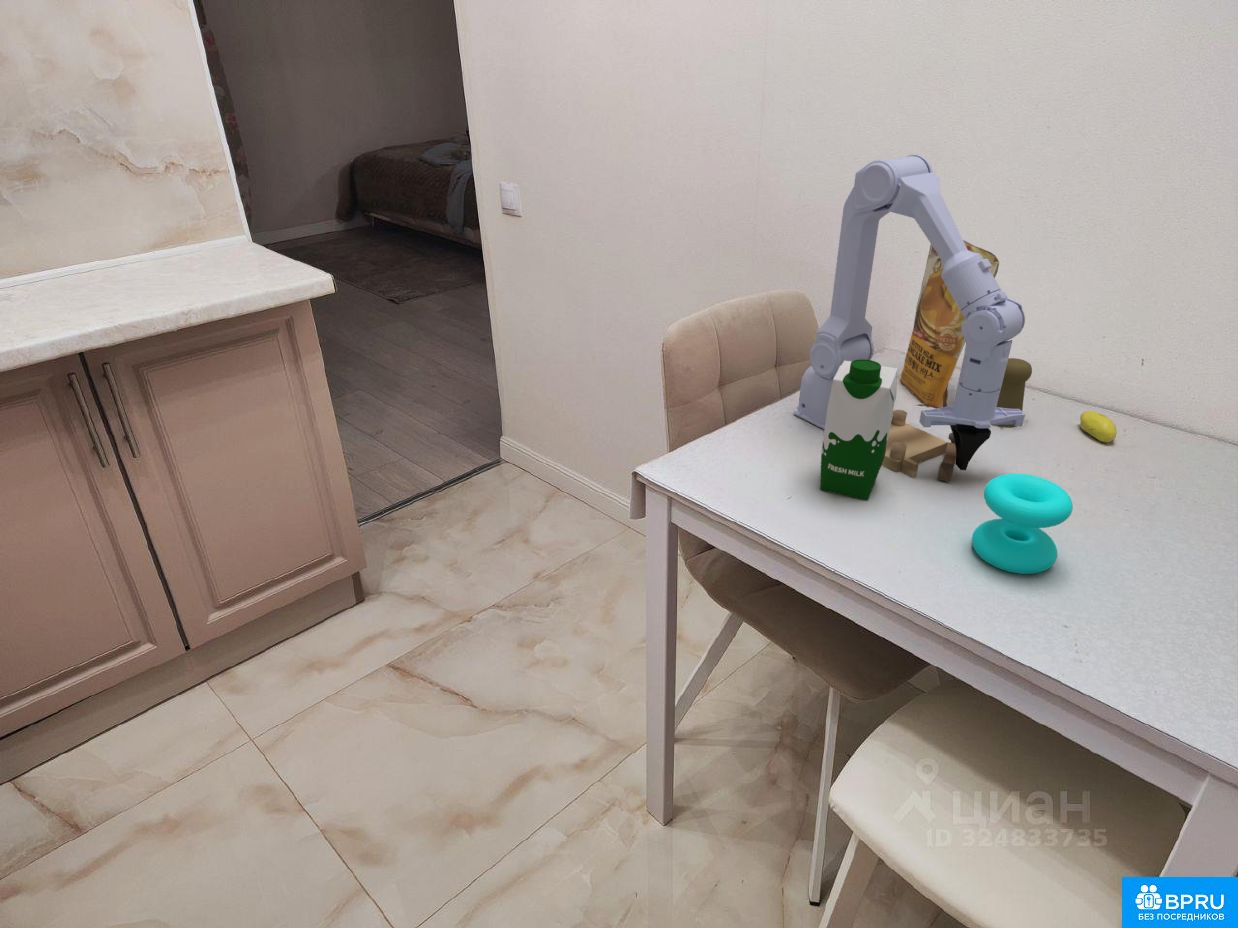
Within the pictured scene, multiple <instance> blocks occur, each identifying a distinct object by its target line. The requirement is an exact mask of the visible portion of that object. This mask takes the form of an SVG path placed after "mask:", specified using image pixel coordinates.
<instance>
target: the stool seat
mask: <svg viewBox="0 0 1238 928" xmlns="http://www.w3.org/2000/svg"><path fill="white" fill-rule="evenodd" d="M907 415H908V412H907V410H906V411H905V410H902V409H893V415H892V421H891V426H890V432H889V437H888V442H887V448H886V453H885V457H884V460H883V463H882V465H881V466H883V467H884V468H887V469H889V470H891V471H892V472H894V473H898V472H901V473H903V472H904V473H903V474H905V475H906V474H907V476H908V475H909V476H908V477H910V476H911V477H910V478H914V477H916V476H917V473H918V468H919V464H921V463H923V462H925V461H927V460H931V459H932V458H935V457H937V455H938V456H941V455H942V454H945V452H946V449H947V445H948V442H949V441H950V443H955V441H954V437H953V433H952V432H950V433H949V434H948V440H949V441H947V440H944V439H942V438H940V437H938V436H935V435H933V434H932V433H929V432H927V431H925V430H923V429H920V428H918V427H915V426H913V425H911V424H909V423H907V422H906V420H907Z"/></svg>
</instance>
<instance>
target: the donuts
mask: <svg viewBox="0 0 1238 928" xmlns="http://www.w3.org/2000/svg"><path fill="white" fill-rule="evenodd" d="M983 497H984V501H985V503H986V504H987V507H988V508H989V509H990V510H991V512H993V513H994V514H995V515H996V516H997V517H999V518H993V519H989V520H986V521H984V522H981V524H979V525H978V526H977V527H976V528H975V529H974V531H973V532H972V536H971V542H972V543H971V544H972V547H973V549H974V551H975V552H976V553H977V555H978V556H979V557H980V558H981V559H982V560H983V561H985V562H986V563H987V564H990V565H991V566H993V567H995V568H997V569H999V570H1003V571H1005V572H1009V573H1013V574H1014V573H1015V574H1021V575H1030V574H1031V575H1032V574H1038V573H1042V572H1045V571H1047V570H1049V569H1050V568H1051V567H1052V566H1054V564H1055V562H1056V561H1057V558H1058V549H1057V545H1056V544H1055V542H1054V540H1053V538H1052V537H1050V536H1049V534H1047V533H1046V532H1045V531H1044V530H1043V529H1045V528H1050V527H1052V528H1053V527H1055V526H1058V525H1060V524H1062V523H1064V522H1065V521H1067V520H1068V519H1069V518H1070V516H1071V515H1072V512H1073V501H1072V498H1071V497H1070V495H1069V493H1067V491H1066V490H1065V489H1063V488H1062V487H1061V486H1059V485H1058V484H1057V483H1055V482H1053V481H1050V480H1048V479H1045V478H1042V477H1040V476H1036V475H1032V474H1027V473H1026V474H1025V473H1006V474H1001V475H999V476H995V477H994V478H992V479H990V480H989V481H988V482H987V483H986V485H985V487H984V490H983Z"/></svg>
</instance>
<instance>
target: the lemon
mask: <svg viewBox="0 0 1238 928" xmlns="http://www.w3.org/2000/svg"><path fill="white" fill-rule="evenodd" d="M1079 420H1080V428H1081V429H1082V430H1083V431H1084V432H1086V433H1088V435H1090V436H1091V437H1093V438H1095V439H1097V440H1098V441H1099V442H1101V443H1110V442H1112V441H1113V440H1115V438H1116V437H1117V435H1118V434H1117V432H1118V431H1117V427H1116V424H1115V422H1113V420H1112V419H1110V418H1109V417H1108V416H1106V415H1105V414H1102V413H1100V412H1097V411H1095V410H1094V411H1093V410H1086V411H1083V412H1082V413H1081V414H1080V417H1079Z"/></svg>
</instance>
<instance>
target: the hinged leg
mask: <svg viewBox="0 0 1238 928" xmlns="http://www.w3.org/2000/svg"><path fill="white" fill-rule="evenodd" d="M947 442H948V445H947V449H946V452H945V453H944V455H943V458H942V461H941V463H940V466H939V471H938V473H937V474H938V475H937V480H939V481H940V480H941V481H945V482H951V480H952V479H951V478H952V475H953V472H954V466H955V463H956V447H955V443H951V441H950V442H949V441H947Z"/></svg>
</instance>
